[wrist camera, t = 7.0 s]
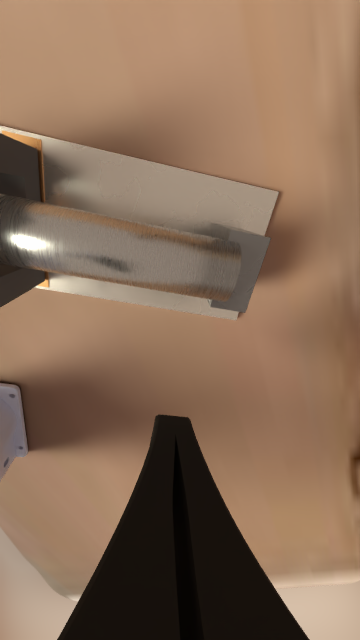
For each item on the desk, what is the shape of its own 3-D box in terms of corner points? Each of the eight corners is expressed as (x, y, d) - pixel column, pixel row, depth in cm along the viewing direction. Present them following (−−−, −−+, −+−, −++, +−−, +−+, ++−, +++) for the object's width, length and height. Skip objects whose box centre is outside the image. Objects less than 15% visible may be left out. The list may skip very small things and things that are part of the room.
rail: (276, 192, 15) (366, 180, 8) (235, 318, 18) (271, 381, 12) (-117, 99, 12) (-477, -37, 5) (-71, 268, 16) (-247, 313, 9)
